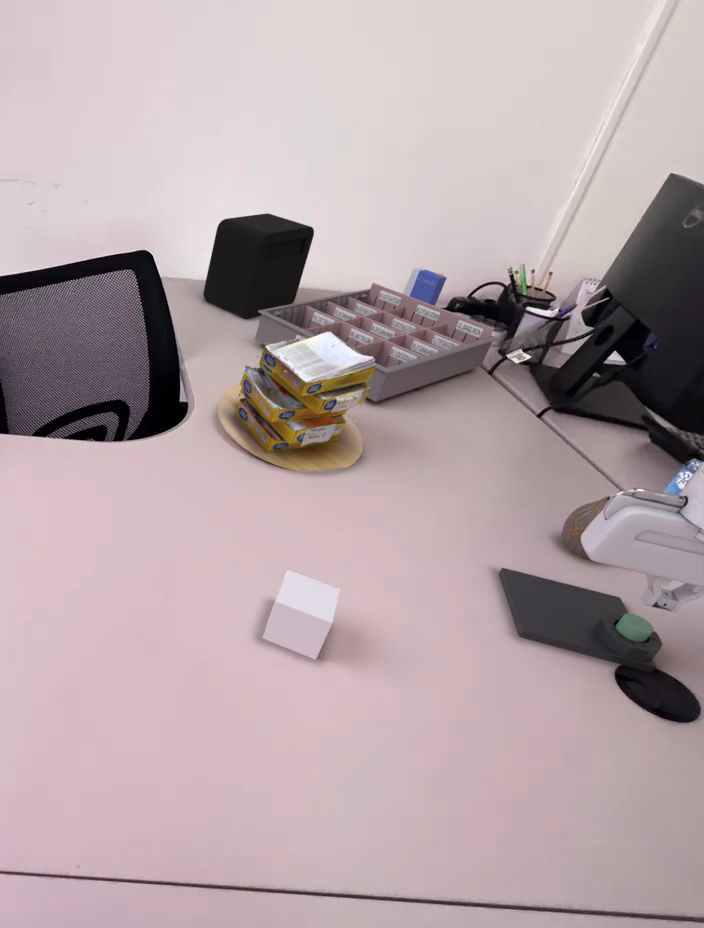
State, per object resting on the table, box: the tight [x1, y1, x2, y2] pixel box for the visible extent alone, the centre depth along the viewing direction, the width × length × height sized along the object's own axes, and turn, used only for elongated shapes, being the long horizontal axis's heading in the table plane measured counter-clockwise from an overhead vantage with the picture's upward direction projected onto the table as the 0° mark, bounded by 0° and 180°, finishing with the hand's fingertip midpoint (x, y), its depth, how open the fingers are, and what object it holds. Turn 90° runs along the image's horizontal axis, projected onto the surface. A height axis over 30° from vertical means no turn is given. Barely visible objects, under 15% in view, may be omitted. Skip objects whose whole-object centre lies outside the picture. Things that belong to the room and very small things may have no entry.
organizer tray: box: [254, 282, 499, 403], centre depth 144 cm, size 32×40×10 cm
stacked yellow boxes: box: [216, 332, 376, 473], centre depth 112 cm, size 25×25×17 cm
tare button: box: [615, 613, 655, 643], centre depth 78 cm, size 3×3×2 cm
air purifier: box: [202, 213, 315, 320], centre depth 163 cm, size 20×15×20 cm
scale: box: [498, 567, 664, 674], centre depth 83 cm, size 14×12×3 cm
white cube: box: [262, 569, 341, 661], centre depth 76 cm, size 6×6×6 cm
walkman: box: [402, 267, 448, 306], centre depth 169 cm, size 8×3×12 cm, turn 27°
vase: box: [561, 495, 612, 560], centre depth 93 cm, size 7×7×9 cm
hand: (657, 605), depth 76 cm, fingers closed
